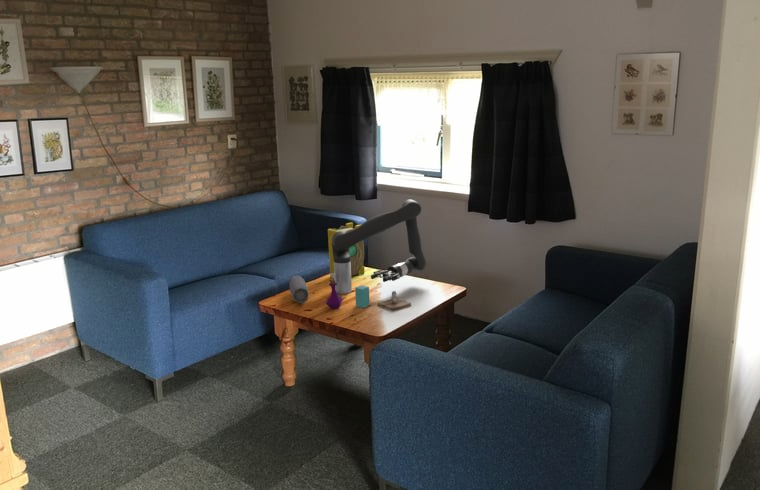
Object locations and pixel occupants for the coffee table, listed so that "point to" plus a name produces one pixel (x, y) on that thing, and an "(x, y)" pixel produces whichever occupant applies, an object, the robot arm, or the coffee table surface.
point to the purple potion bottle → (333, 295)
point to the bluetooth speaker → (298, 289)
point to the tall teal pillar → (362, 296)
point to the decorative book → (355, 251)
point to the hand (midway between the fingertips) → (377, 278)
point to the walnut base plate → (394, 303)
